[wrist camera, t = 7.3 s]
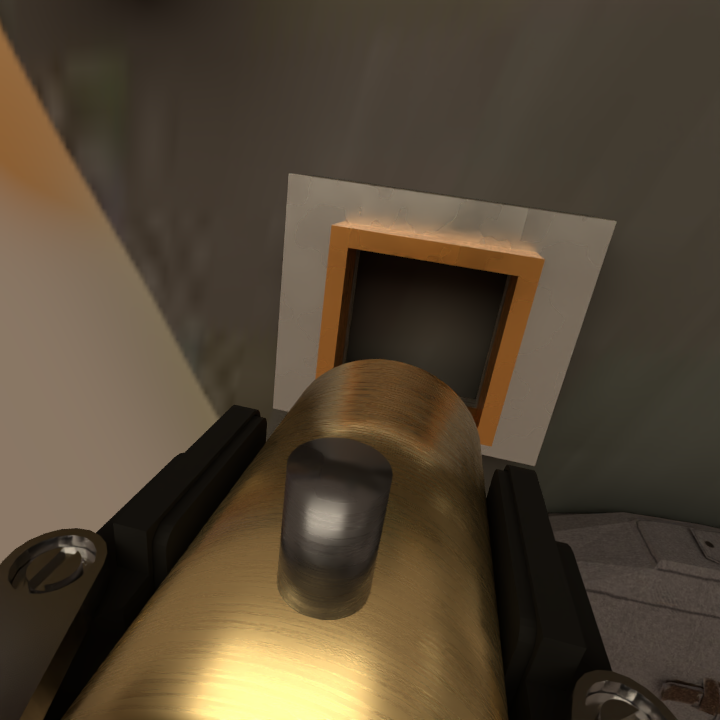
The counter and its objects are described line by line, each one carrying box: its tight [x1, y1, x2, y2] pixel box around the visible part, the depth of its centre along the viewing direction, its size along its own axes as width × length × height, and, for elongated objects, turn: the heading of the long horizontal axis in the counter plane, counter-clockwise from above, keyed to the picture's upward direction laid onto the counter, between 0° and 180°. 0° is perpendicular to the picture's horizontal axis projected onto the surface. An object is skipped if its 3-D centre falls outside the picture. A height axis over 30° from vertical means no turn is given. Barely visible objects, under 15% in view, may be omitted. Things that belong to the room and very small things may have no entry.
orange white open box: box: [273, 173, 617, 466], centre depth 22 cm, size 14×12×6 cm
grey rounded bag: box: [548, 512, 720, 720], centre depth 25 cm, size 15×8×20 cm
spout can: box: [61, 359, 509, 720], centre depth 7 cm, size 6×5×9 cm
